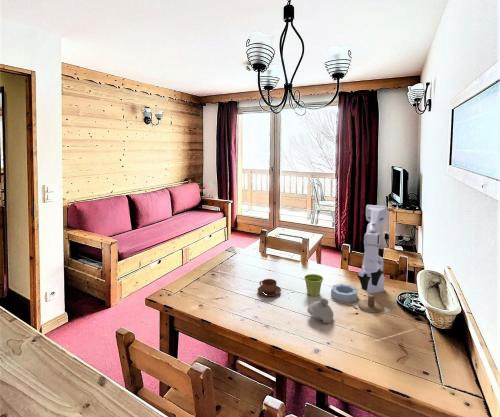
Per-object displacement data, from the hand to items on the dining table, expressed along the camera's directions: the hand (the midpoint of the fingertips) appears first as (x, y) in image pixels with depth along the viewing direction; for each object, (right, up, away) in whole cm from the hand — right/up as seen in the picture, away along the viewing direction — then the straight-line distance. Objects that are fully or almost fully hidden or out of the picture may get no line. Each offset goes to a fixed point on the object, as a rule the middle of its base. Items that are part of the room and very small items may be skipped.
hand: (369, 287), depth 145 cm
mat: (+1, -10, +1) cm, 10 cm away
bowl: (-8, -8, +13) cm, 17 cm away
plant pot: (-22, -8, +17) cm, 29 cm away
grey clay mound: (-24, -12, -6) cm, 27 cm away
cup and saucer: (-44, -8, +19) cm, 49 cm away
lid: (+1, -9, +1) cm, 10 cm away
